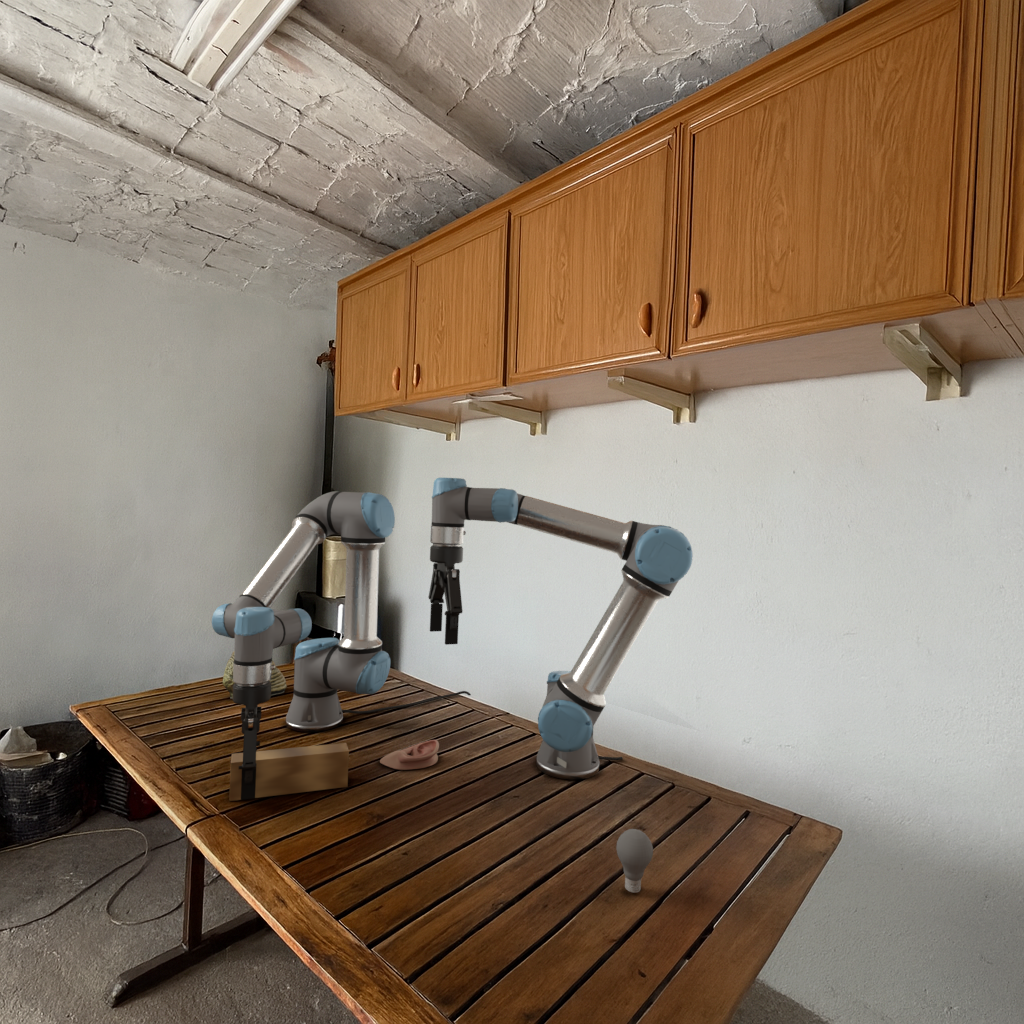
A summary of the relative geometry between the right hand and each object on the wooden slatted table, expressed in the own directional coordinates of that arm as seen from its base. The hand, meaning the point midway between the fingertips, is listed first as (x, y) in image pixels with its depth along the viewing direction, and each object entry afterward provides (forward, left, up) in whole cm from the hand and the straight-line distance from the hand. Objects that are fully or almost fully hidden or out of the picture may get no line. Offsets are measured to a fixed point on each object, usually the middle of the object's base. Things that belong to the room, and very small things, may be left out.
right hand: (443, 637), depth 145 cm
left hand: (+40, +2, -31) cm, 51 cm away
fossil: (+47, -67, -32) cm, 88 cm away
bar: (+32, +1, -32) cm, 46 cm away
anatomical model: (+5, -9, -32) cm, 34 cm away
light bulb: (-25, +49, -32) cm, 64 cm away
